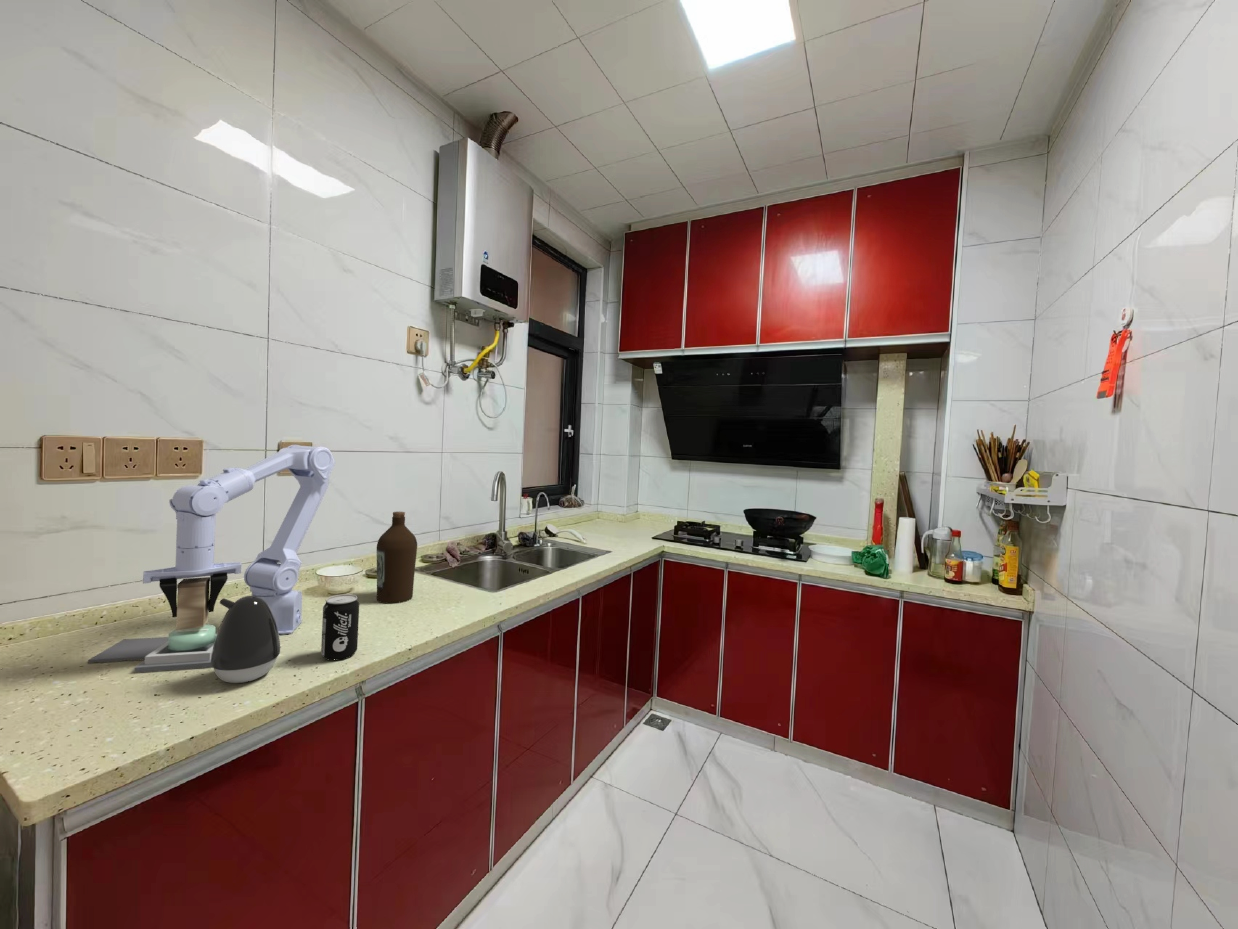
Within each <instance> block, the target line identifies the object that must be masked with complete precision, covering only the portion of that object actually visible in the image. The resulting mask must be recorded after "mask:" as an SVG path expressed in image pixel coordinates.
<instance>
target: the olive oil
mask: <svg viewBox="0 0 1238 929" xmlns="http://www.w3.org/2000/svg"><path fill="white" fill-rule="evenodd" d="M405 514H406V512H405V511H393V512H392V517H391V519H392V520H391V521H392V522H391V526H389V527H388V529H387V530H385V531H384V533H382V534H381V536H380V537H379V538H378V540H377V544H376V600H377V601H378V602H379V603H383V604H398V603H399V602H400V603H403V601H405V602H408V601H410V600H411V599H412V598H413V596H414V595H413V594H414V582H415V573H416V572H415V571H416V565H417V564H416V561H417V554H418V542H417V538H416V536H415V535H414V534H413V532H412V531H411V530H410V529H409V528H408V527H407V526H406V524H405V523H406V516H405ZM409 599H410V600H409ZM407 600H408V601H407Z"/></svg>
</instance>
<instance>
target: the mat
mask: <svg viewBox="0 0 1238 929" xmlns="http://www.w3.org/2000/svg"><path fill="white" fill-rule="evenodd" d="M168 637H169V636H163V637H162V636H157V637H142V638H141V637H140V638H123V639H122V640H120V641H118V642H116V643H115V644H113V645H111V646H109V647H108V648H106V649H105V650H103V651H101V652H99V653H98V654H96V655H94V656H92V657H91V658H89V659H88V660H87V663H88V664H93V663H92V662H99V663H111V662H113V661H114V662H126V661H125V660H130V661H141V660H142V659H145V657H146V656H147V655H148V654H150V653H151V652H153V651H154V650H156V649H157V648H159V647H160V646H162V645H163V644H165V643H166V642H168ZM140 659H141V660H140ZM122 660H124V661H122ZM110 661H111V662H110ZM142 661H143V660H142ZM114 662H113V663H114Z"/></svg>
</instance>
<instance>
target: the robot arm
mask: <svg viewBox="0 0 1238 929" xmlns="http://www.w3.org/2000/svg"><path fill="white" fill-rule="evenodd" d="M335 464H336V461H335V459H334V456H333V454H332V451H331V450H330V449H329V448H327V447H325V446H309V445H298V444H291V445H288V446H287V447H283V448H280V449H279V451H278V452H275V453H274V454H272V455H270V456H268V457H266V458H264V459H262V460H260V461H259V462H256V463H254V464H253V465H250V466H248V467H247V468H245V469H244V468H241V467H230V466H228V467H226V468H224V469H223V470H222V471H223V472H221V473H220V474H216V475H214V476H212V477H210V478H202V479H200V480H199V482H198V484H197V485H194V484H188V485H184V486H183V485H182V486H181V487H180V488H178V489H177V490H176V491H175V493H174V494H173V497H172V498H171V499H169V502H168V503H169V507H170V508H171V509H172V511H174V513H175V519H176V539H175V540H176V542H175V566H172V567H166V568H160V569H159V568H158V569H151V570H146V571H145V570H144V571H143V573H142V584H150V583H153V582H154V583H155V582H159V583H158V585H159V588H160V590H161V591H162V593H163V594H164V596H165V598H166V600H167V601H168V604H169V607H170V610H171V616H172V618H177V597H178V588H177V585H178V580H181V579H182V580H183V579H188V578H204V577H210V585H209V604H208V610H209V612H208V613H213V612H214V611H215V610H214V609H215V605H216V602H217V599H218V597H219V595H220V593H221V591H222V589H224V588H223V587H224V586H225V585H226V583H227V581H228V575H230V574H235V575H237V574H242V565H243V564H242V563H241V561H240V562H225V563H224V562H222V563H219V562H217V563H214V562H215V541H216V540H215V538H216V537H215V536H216V535H215V534H216V514H218V513H219V512H221V510H222V509H223V507H224V506H225V504H226V503H229V502H230V501H232V500H235V499H236V498H239V497H241V496H243V495H244V494H247V493H249V492H250V491H253V489H254V486H255V483H257V482H259V481H261V480H264V479H266V478H269V477H271V476H274V475H276V474H278V473H281V472H283V471H286V470H288V471H289V472H290V474H291V475H292V476H293V477H294V478H295V479H296V481H297V482H298V484H299V488H298V491H297V493H296V495H295V496H294V498H293V501H292V502H291V504H290V507H289V508H288V511H287V513H286V514H285V517H284V518H283V521H282V522H281V525H280V527H279V529H278V531H277V533H276V534H275V536H274V539H273V540H272V542H271V545H270V546H269V547H268V548H267V549H264V550H263V551H261V552H260V553H258V554H257V557H255V560H254V561H252V563H251V564H249V565H248V566H247V568H246V569H245V571H244V573H243V574H244V575H243V580H244V581H243V582H244V584H246V585H247V586H248V587H249V591H250V593H251V596H258V597H260V598H262V599H263V600H264V601H265V602H266V603H267V604H268V606H269V607H270V609H271V611H272V613H273V616H274V619H275V621H276V625H277V628H278V633H279V635H288V634H289V635H291V634H292V633H293V632H294V631H295V630H297V628H298V627H299V626H300V624H302V621H303V620H302V609H303V608H302V607H303V594H302V593H303V592H302V591H301V590H294V587H295V586H296V584H297V583H298V581H299V575H300V568H301V566H302V564H303V563H302V561H301V559H300V558H299V556H298V554H297V553H298V551H299V549H300V546H301V544H303V540H304V539H305V537H306V534H307V532H308V530H309V528H310V526H311V523H312V521H313V519H314V517H315V515H316V513H317V512H318V508H319V507H320V505H321V502H322V500H323V498H324V496H325V494H326V492H327V490H328V488H329V483H330V482H329V481H330V474H331V473H332V471H333V468H334V466H335Z"/></svg>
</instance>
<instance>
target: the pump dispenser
mask: <svg viewBox="0 0 1238 929" xmlns="http://www.w3.org/2000/svg"><path fill="white" fill-rule="evenodd" d="M219 604H220V605H221V606H223V607H224V608H226V609H227V611H226V613H225V615H224V617H222V618H223V619H222V620H221V622H220V625H219V628H218V631H217V632H216V634H217V635H216V638H215V642H214V646H213V650H212V655H211V666H212V667H213V668H212V669H213V672H214V673H215V675H216V676H217V678H218V679H220V680H221V681H223V682H225V683H231V684H243V683H247V682H248V681H249V682H251V681H254V680H257V679H259V678H262V677H263V676H264V675H267V673H269V671H271V669H272V668H273V667H274V666H275V664H276V662H277V659H278V657H279V656H280V654H281V641H280V640H281V639H280V634H279V633H278V628H277V625H276V621H275V619H274V616H273V613H272V611H271V609H270V607H269V606H268V604H267V603H266V602H265V601H264V600H263V599H262V598H260V597H258V596H252V595H246V596H243V597H241V598H239V599H236V600H235V601H232V600H230V599H227V598H221V599H220V600H219Z"/></svg>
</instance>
